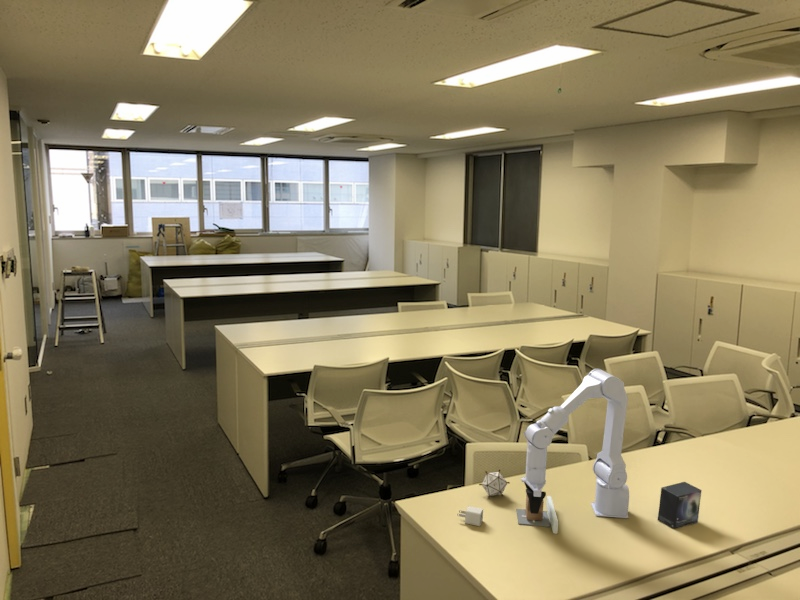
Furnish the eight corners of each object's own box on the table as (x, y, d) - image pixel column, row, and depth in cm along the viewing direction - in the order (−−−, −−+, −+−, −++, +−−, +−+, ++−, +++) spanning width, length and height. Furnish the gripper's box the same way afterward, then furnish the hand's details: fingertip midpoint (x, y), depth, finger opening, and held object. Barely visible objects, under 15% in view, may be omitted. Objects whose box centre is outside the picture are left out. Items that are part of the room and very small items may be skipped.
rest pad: (546, 511, 188) (546, 510, 188) (550, 526, 179) (550, 525, 179) (516, 509, 189) (516, 508, 189) (518, 524, 180) (518, 523, 180)
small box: (675, 530, 179) (678, 496, 177) (656, 520, 184) (659, 487, 183) (699, 522, 184) (702, 489, 182) (680, 513, 189) (683, 480, 188)
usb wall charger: (479, 527, 178) (480, 514, 177) (456, 522, 180) (456, 509, 179) (482, 520, 181) (483, 508, 181) (459, 516, 184) (460, 503, 183)
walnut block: (540, 513, 186) (541, 494, 185) (542, 520, 181) (543, 501, 180) (525, 512, 186) (526, 493, 185) (526, 519, 182) (527, 500, 181)
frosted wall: (550, 506, 191) (550, 496, 190) (557, 533, 175) (558, 522, 175) (546, 506, 191) (547, 495, 191) (553, 533, 175) (553, 521, 175)
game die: (498, 508, 197) (508, 493, 190) (473, 496, 198) (482, 481, 191) (504, 485, 203) (515, 470, 196) (481, 474, 204) (490, 458, 197)
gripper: (520, 454, 189) (517, 496, 191) (524, 474, 175) (521, 519, 177) (543, 456, 188) (541, 498, 190) (549, 476, 174) (546, 521, 176)
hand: (533, 508), depth 183 cm, fingers closed on walnut block, 4 cm apart
